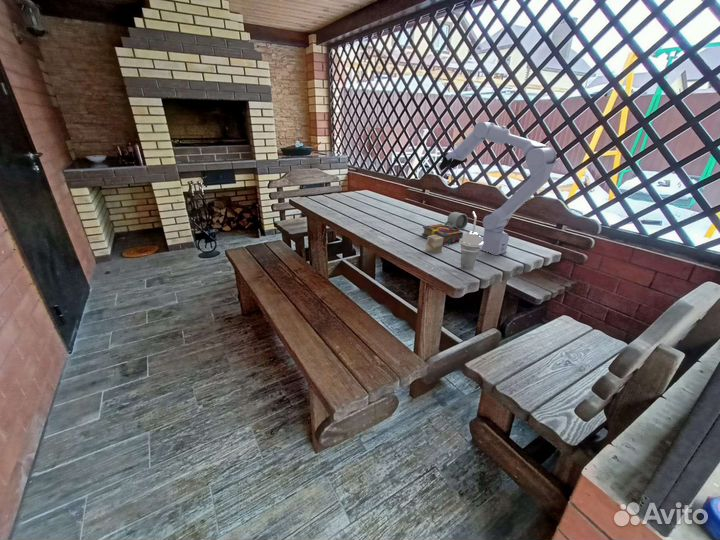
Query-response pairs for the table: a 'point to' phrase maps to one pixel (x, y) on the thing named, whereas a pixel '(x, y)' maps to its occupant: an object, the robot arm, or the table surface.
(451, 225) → the ceramic mug
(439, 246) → the birch block
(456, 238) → the decorative book
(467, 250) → the cup with straw
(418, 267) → the table surface
